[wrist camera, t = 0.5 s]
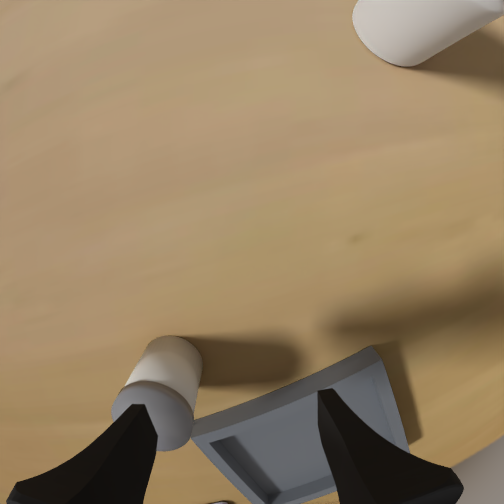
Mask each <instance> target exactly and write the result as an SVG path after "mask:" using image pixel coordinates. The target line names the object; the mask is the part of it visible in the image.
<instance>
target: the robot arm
mask: <svg viewBox="0 0 504 504" xmlns="http://www.w3.org/2000/svg"><path fill="white" fill-rule="evenodd" d="M317 399H318V429H319V434H320V438H321V443H322V447H323V450H324V453H325V456H326V458H327V461H328V464H329V467H330V470H331V473H332V476H333V479H334V482H335V485H336V488H337V492H338V496H339V501H340V504H456V502H457V501H458V499H459V498H460V496H461V494H462V492H463V489H464V487H463V485H462V483H461V481H460V480H459V478H458V477H457V475H456V474H455V473H454V472H453V470H452V469H451V468H448V467H444V466H441V465H437V464H434V463H431V462H428V461H426V460H423V459H421V458H418V457H416V456H414V455H412V454H410V453H408V452H406V451H404V450H402V449H400V448H399V447H397V446H395V445H394V444H392V443H391V442H389V441H388V440H386V439H385V438H383V437H382V436H381V435H379V434H378V433H377V432H375V431H374V430H373V429H372V428H371V427H369V426H368V425H367V424H366V423H365V422H364V421H363V420H362V419H361V418H359V417H358V416H357V415H356V414H355V413H354V412H353V411H352V410H351V409H350V407H349V406H348V405H347V404H346V403H345V402H344V401H343V400H342V398H341V397H340V396H339V395H338V393H337V392H336V391H335V390H334V389H333V388H329V389H324V390H318V391H317ZM157 442H158V434H157V432H156V430H155V427H154V425H153V423H152V420H151V418H150V416H149V413H148V411H147V408H146V406H145V404H131V405H130V406H129V407H128V408H127V409H126V410H125V411H124V412H123V413H122V414H121V415H120V417H119V418H118V419H117V420H116V421H115V422H114V423H113V424H112V425H111V426H110V427H109V428H108V429H107V430H106V431H105V432H104V433H102V434H101V435H100V436H99V437H98V438H97V439H96V440H95V441H94V442H92V443H91V444H90V445H89V446H88V447H86V448H85V449H84V450H83V451H81V452H80V453H78V454H77V455H76V456H74V457H73V458H71V459H70V460H68V461H66V462H65V463H63V464H61V465H59V466H58V467H56V468H54V469H52V470H50V471H48V472H45V473H43V474H41V475H38V476H35V477H33V478H29V479H26V480H23V481H20V482H17V483H16V484H15V486H14V488H13V490H12V491H11V493H10V495H9V497H8V499H7V500H6V502H7V504H143V500H144V496H145V492H146V488H147V485H148V481H149V478H150V474H151V471H152V467H153V463H154V460H155V456H156V450H157ZM213 504H228V503H226V502H218V503H213Z"/></svg>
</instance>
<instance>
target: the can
mask: <svg viewBox="0 0 504 504" xmlns="http://www.w3.org/2000/svg"><path fill="white" fill-rule="evenodd" d="M503 15H504V0H358V2H357V3H356V5H355V7H354V10H353V15H352V18H353V24H354V28H355V30H356V32H357V34H358V36H359V38H360V39H361V41H362V42H363V43H364V44H365V45H366V47H367V48H368V49H369V50H371V51H372V52H373V53H374V54H375V55H377V56H378V57H380V58H381V59H383V60H385V61H387V62H389V63H392V64H395V65H398V66H415V65H418V64H420V63H422V62H424V61H425V60H427V59H429V58H430V57H432V56H434V55H435V54H437V53H439V52H440V51H442V50H444V49H445V48H447V47H449V46H450V45H452V44H454V43H456V42H457V41H459V40H461V39H462V38H464V37H466V36H468V35H469V34H471V33H473V32H475V31H476V30H478V29H480V28H482V27H483V26H485V25H487V24H489V23H490V22H492V21H494V20H496V19H498V18H499V17H501V16H503Z"/></svg>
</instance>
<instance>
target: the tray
mask: <svg viewBox="0 0 504 504" xmlns="http://www.w3.org/2000/svg"><path fill="white" fill-rule="evenodd" d="M329 388H333V389H334V390H335V391H336V392H337V393H338V395H339V396H340V397H341V398H342V400H343V401H344V402H345V403H346V404H347V405H348V406H349V407H350V409H351V410H352V411H353V412H354V413H355V414H356V415H357V416H358V417H359V418H361V419H362V420H363V421H364V422H365V423H366V424H367V425H368V426H369V427H371V428H372V429H373V430H374V431H375V432H377V433H378V434H379V435H381V436H382V437H383V438H385V439H386V440H388V441H389V442H391V443H392V444H394V445H395V446H397V447H399V448H400V449H402V450H404V451H406V452H408V453H410V451H409V447H408V443H407V439H406V436H405V432H404V429H403V425H402V422H401V418H400V415H399V411H398V408H397V405H396V401H395V398H394V395H393V392H392V388H391V385H390V382H389V379H388V376H387V373H386V370H385V367H384V364H383V361H382V359H381V357H380V356H379V355H378V354H377V352H376V351H375V350H374V348H373V347H372V346H369V347H367V348H365V349H363V350H362V351H360V352H358V353H356V354H354V355H352V356H350V357H348V358H346V359H344V360H342V361H340V362H338V363H336V364H334V365H332V366H329V367H327V368H325V369H323V370H321V371H319V372H317V373H315V374H312V375H310V376H308V377H306V378H304V379H301V380H299V381H297V382H294V383H292V384H290V385H288V386H285V387H283V388H280V389H278V390H276V391H273V392H271V393H268V394H266V395H263V396H261V397H258V398H256V399H253V400H251V401H248V402H245V403H243V404H240V405H237V406H235V407H232V408H229V409H226V410H223V411H221V412H218V413H215V414H212V415H209V416H206V417H203V418H200V419H197V420H194V423H193V428H192V433H191V439H192V440H193V442H194V443H195V444H196V445H197V446H198V447H199V448H200V450H201V451H202V452H203V453H204V454H205V455H206V456H207V457H208V459H209V460H210V461H211V462H212V463H213V464H214V465H215V466H216V467H217V468H218V469H219V470H220V472H221V473H222V474H223V475H224V476H225V477H226V478H227V479H228V480H229V481H230V482H231V483H232V484H233V485H234V486H235V487H236V488H237V489H238V490H239V491H240V492H241V493H242V494H243V495H244V496H245V497H246V498H247V499H248V500H249V501H250V502H251V503H252V504H301V503H304V502H307V501H310V500H313V499H316V498H319V497H321V496H324V495H327V494H330V493H332V492H335V491H337V488H336V485H335V482H334V479H333V476H332V473H331V470H330V467H329V464H328V461H327V458H326V456H325V453H324V450H323V447H322V443H321V438H320V434H319V429H318V399H317V391H318V390H324V389H329Z"/></svg>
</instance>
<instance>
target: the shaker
mask: <svg viewBox="0 0 504 504" xmlns="http://www.w3.org/2000/svg"><path fill="white" fill-rule="evenodd" d="M202 369H203V361H202V357H201V355H200V353H199V351H198V350H197V349H196V348H195V346H194V345H192V344H191V343H190V342H188V341H187V340H185V339H183V338H180V337H177V336H161V337H158V338H156V339H154V340H152V341H151V342H150V343H149V344H148V346H147V347H146V349H145V351H144V352H143V354H142V356H141V358H140V360H139V361H138V363H137V365H136V367H135V368H134V370H133V372H132V374H131V376H130V378H129V379H128V381H127V383H126V385H125V387H124V388H122V389H121V391H120V392H119V394H118V396H117V398H116V399H115V401H114V403H113V405H112V411H111V413H112V419H113V421H114V422H115V421H116V420H117V419H118V418H119V417H120V415H121V414H122V413H123V412H124V411H125V410H126V409H127V408H128V407H129V406H130V405H131V404H145V406H146V408H147V411H148V413H149V416H150V418H151V420H152V423H153V425H154V427H155V430H156V432H157V434H158V442H157V450H156V451H171V450H175V449H178V448H180V447H182V446H183V445H185V444H186V443H187V442H188V440H189V439H190V437H191V433H192V428H193V423H194V414H193V413H194V408H195V403H196V398H197V393H198V388H199V384H200V379H201V374H202Z"/></svg>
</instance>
